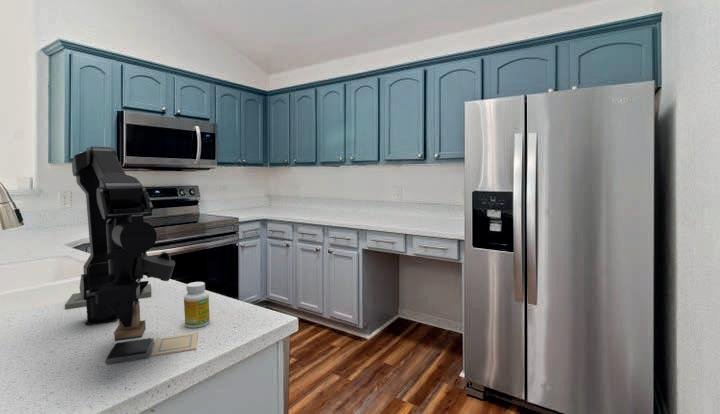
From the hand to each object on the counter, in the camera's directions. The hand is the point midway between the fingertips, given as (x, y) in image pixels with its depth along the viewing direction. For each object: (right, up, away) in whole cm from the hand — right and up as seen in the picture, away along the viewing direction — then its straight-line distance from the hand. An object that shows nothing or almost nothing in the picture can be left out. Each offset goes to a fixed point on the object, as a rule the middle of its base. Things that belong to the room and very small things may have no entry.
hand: (129, 323), depth 74 cm
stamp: (0, -2, 0) cm, 2 cm away
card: (+7, -6, +4) cm, 10 cm away
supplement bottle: (+7, -5, +15) cm, 17 cm away
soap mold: (-26, -4, +34) cm, 43 cm away
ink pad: (0, -6, +1) cm, 6 cm away
